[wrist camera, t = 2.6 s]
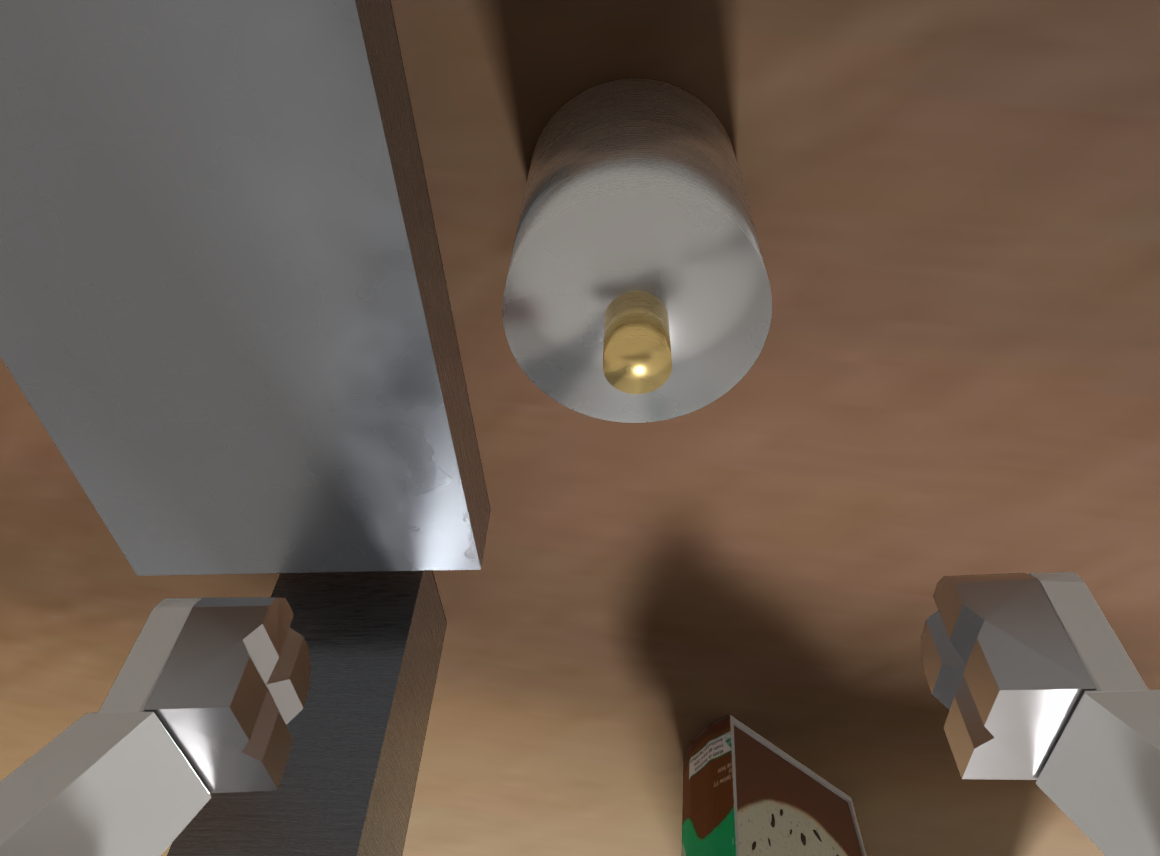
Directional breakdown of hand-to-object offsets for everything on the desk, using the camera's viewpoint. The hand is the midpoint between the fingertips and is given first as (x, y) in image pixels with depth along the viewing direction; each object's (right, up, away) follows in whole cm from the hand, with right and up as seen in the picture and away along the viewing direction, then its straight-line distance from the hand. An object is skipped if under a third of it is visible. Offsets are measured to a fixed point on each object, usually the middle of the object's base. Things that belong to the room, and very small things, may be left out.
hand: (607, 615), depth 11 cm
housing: (+1, +8, +10) cm, 13 cm away
